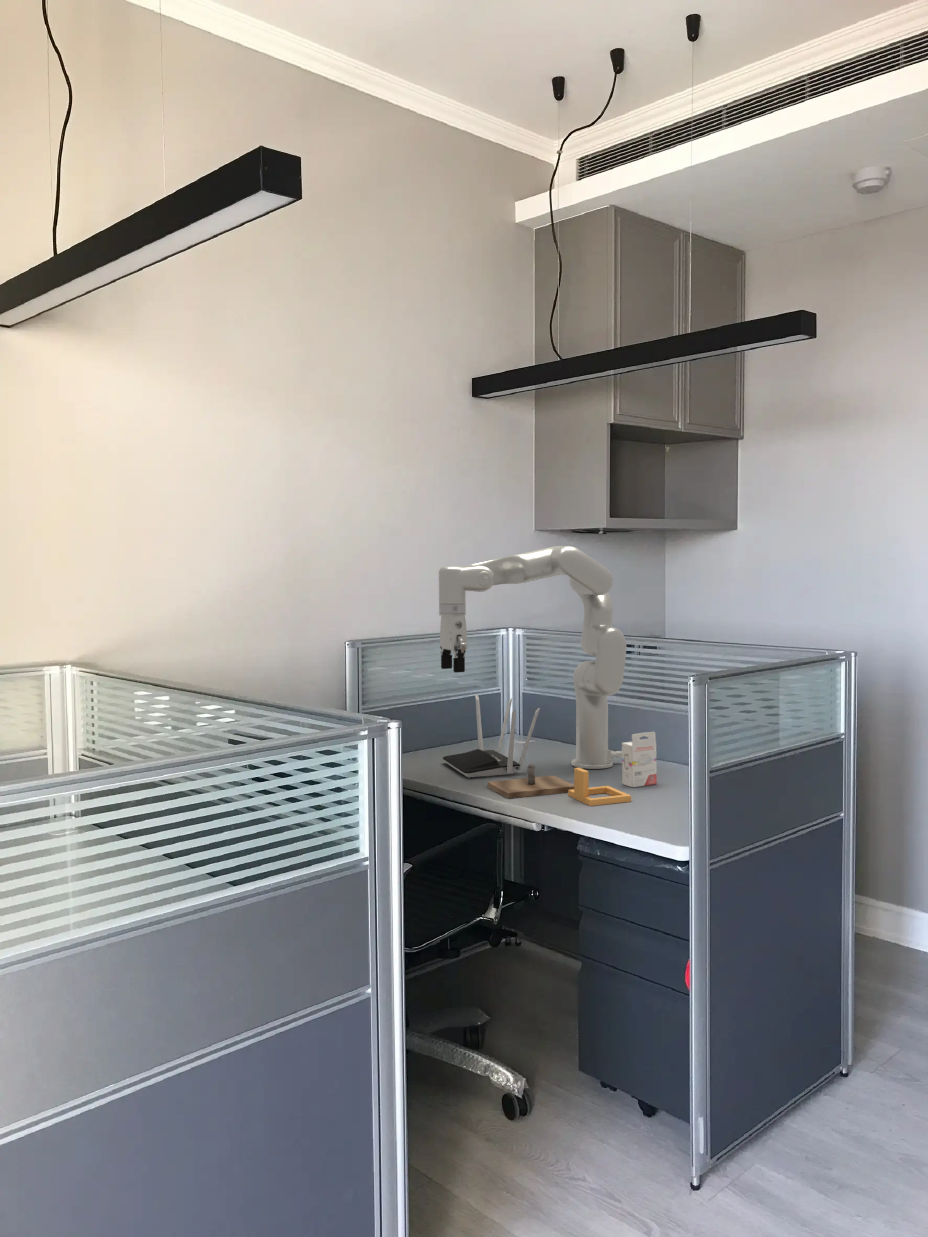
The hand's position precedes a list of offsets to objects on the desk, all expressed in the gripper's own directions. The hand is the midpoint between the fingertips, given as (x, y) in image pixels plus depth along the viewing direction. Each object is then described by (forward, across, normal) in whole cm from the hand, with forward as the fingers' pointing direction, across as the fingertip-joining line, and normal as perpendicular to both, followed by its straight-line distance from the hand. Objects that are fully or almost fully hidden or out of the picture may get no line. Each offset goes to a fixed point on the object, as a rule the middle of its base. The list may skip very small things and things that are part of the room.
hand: (452, 670), depth 279 cm
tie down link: (+31, -37, -26) cm, 55 cm away
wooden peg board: (+31, -21, -15) cm, 40 cm away
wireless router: (+31, +8, -15) cm, 36 cm away
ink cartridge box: (+31, -27, -44) cm, 61 cm away
